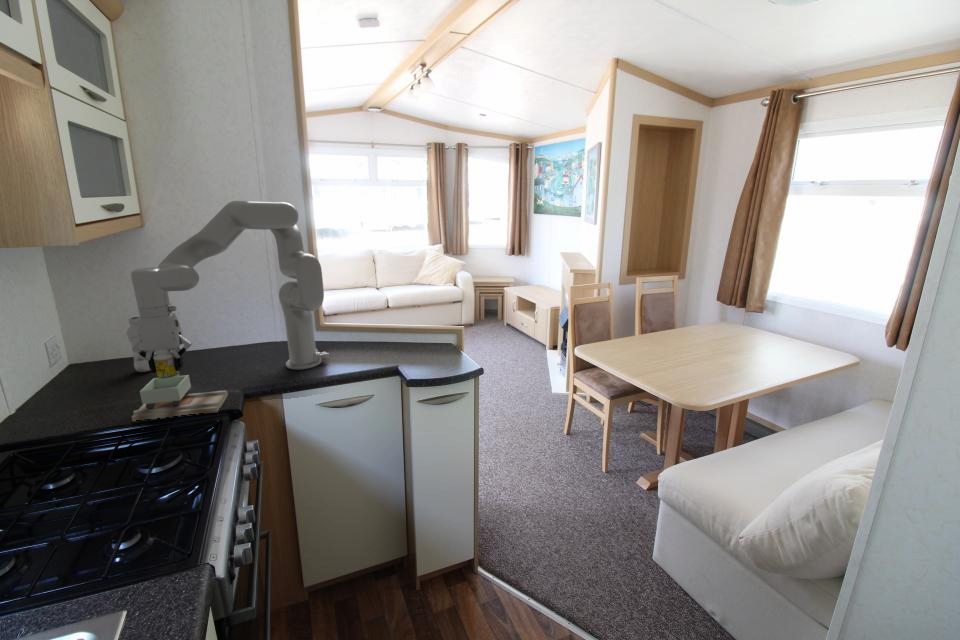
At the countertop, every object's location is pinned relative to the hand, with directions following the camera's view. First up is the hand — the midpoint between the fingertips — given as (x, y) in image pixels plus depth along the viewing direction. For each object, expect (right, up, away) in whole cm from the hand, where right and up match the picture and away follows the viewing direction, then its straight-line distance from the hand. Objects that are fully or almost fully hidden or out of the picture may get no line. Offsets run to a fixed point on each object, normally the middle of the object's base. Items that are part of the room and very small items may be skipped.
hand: (167, 369), depth 134 cm
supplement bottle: (0, -2, +1) cm, 2 cm away
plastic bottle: (-29, -4, +32) cm, 44 cm away
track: (+2, -12, +4) cm, 13 cm away
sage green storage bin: (-1, -10, +3) cm, 10 cm away
